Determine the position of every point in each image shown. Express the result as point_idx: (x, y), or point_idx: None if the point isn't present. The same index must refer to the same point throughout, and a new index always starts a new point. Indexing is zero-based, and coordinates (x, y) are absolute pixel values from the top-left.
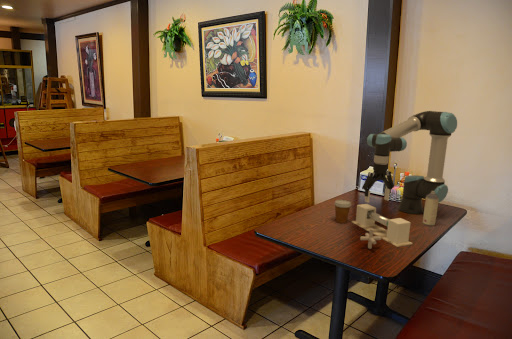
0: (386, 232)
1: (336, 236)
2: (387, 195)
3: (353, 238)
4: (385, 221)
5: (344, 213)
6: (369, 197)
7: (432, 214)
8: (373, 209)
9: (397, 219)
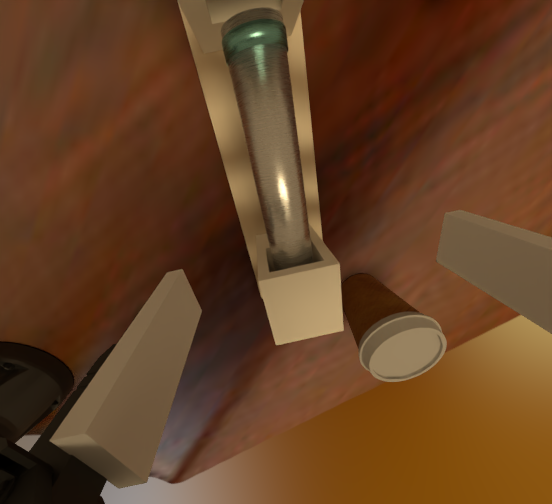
0: (242, 137)
1: (485, 142)
2: (164, 320)
3: (436, 102)
4: (288, 72)
5: (388, 295)
6: (514, 234)
7: None
8: (278, 272)
9: None
